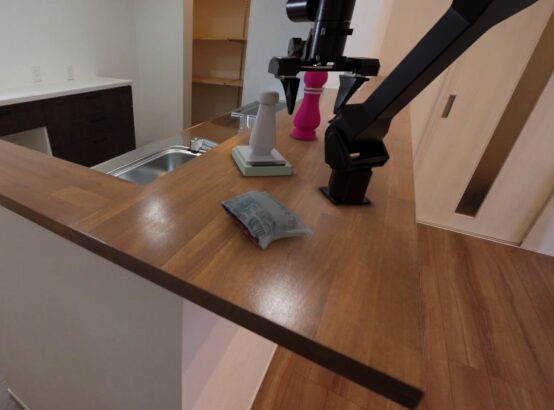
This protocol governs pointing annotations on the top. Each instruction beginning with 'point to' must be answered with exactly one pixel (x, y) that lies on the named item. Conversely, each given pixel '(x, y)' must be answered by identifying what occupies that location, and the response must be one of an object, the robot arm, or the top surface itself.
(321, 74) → the pepper mill
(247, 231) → the packaged food
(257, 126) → the salt shaker
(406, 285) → the top surface
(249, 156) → the scale
